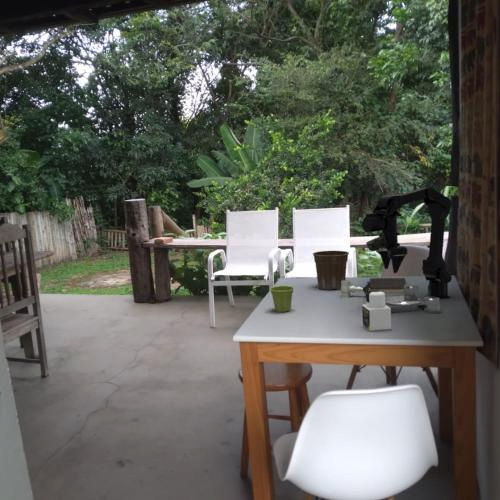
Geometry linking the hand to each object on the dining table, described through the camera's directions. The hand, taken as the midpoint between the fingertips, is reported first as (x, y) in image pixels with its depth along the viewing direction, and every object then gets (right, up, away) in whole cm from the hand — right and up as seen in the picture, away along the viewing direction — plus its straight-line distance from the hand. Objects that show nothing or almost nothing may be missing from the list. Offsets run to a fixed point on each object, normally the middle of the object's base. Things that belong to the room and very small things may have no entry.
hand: (390, 271), depth 182 cm
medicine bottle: (-12, -17, -24) cm, 32 cm away
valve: (-9, -12, +20) cm, 25 cm away
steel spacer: (+12, -14, -10) cm, 21 cm away
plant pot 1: (-40, -16, +5) cm, 43 cm away
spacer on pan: (+7, -10, -1) cm, 13 cm away
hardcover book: (+9, -9, +35) cm, 37 cm away
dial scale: (+3, -13, -1) cm, 14 cm away
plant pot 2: (-15, -10, +40) cm, 44 cm away
